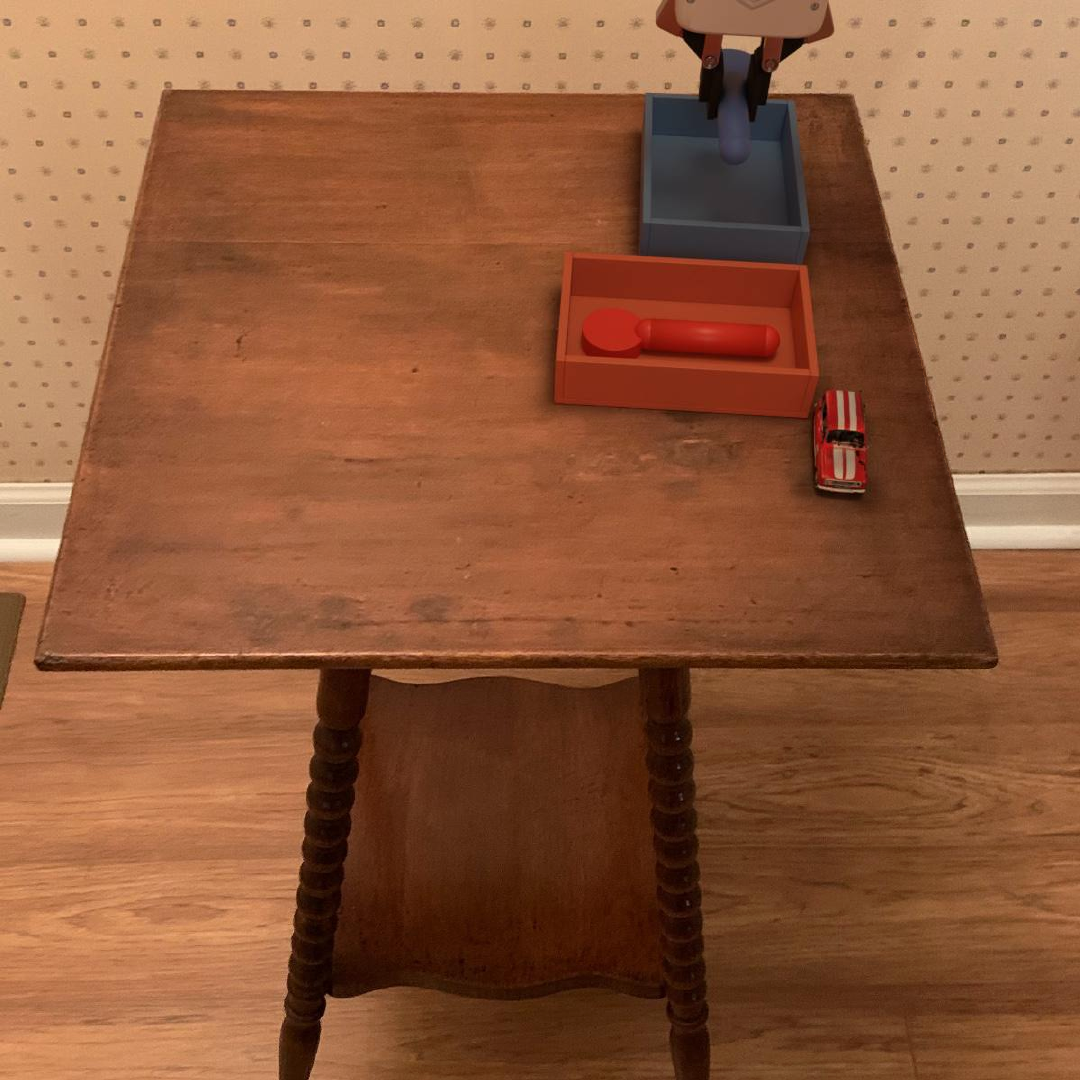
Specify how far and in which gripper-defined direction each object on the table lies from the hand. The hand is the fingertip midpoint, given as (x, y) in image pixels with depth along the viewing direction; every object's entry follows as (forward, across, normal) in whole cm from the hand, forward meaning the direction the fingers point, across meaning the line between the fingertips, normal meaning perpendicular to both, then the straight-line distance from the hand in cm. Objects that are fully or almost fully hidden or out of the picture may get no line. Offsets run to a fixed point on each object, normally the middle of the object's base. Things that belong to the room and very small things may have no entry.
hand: (730, 108), depth 88 cm
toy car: (+8, +8, -26) cm, 29 cm away
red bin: (+8, -3, -18) cm, 20 cm away
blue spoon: (0, 0, -1) cm, 1 cm away
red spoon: (+8, -3, -17) cm, 19 cm away
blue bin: (+8, 0, 0) cm, 8 cm away
